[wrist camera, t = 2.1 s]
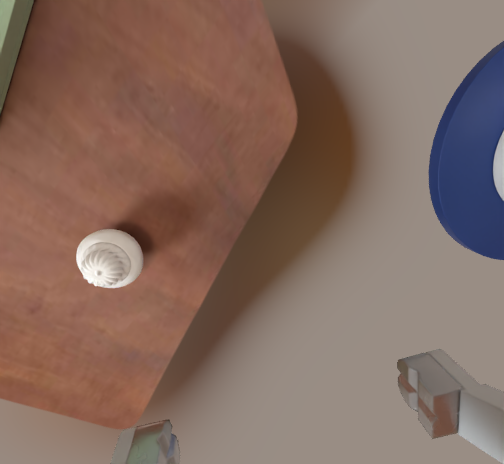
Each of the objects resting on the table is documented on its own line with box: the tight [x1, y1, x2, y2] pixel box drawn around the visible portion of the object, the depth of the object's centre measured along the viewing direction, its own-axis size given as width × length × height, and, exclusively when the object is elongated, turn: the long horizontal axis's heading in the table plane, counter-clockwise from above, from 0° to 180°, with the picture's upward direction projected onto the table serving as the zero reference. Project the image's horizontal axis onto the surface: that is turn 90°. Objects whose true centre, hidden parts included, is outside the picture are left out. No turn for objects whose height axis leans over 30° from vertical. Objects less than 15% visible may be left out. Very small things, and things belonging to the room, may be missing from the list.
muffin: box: [76, 229, 143, 288], centre depth 29 cm, size 6×6×7 cm
